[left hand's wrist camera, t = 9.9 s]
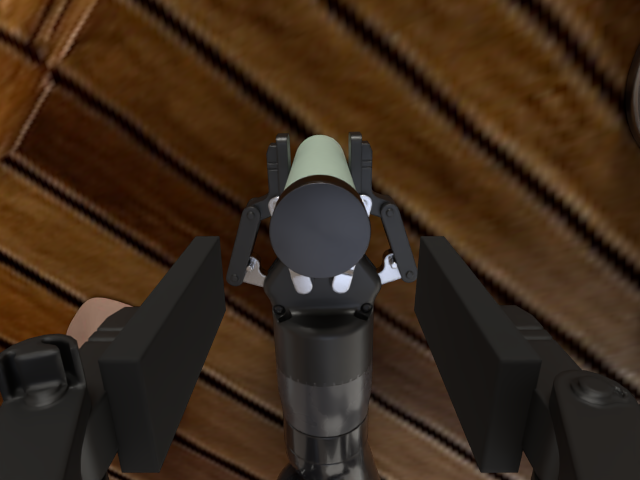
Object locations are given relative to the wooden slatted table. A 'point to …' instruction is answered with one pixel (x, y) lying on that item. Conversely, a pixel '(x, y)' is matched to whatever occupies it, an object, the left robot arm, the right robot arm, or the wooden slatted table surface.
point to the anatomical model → (92, 317)
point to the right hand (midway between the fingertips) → (318, 135)
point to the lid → (320, 227)
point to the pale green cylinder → (319, 160)
